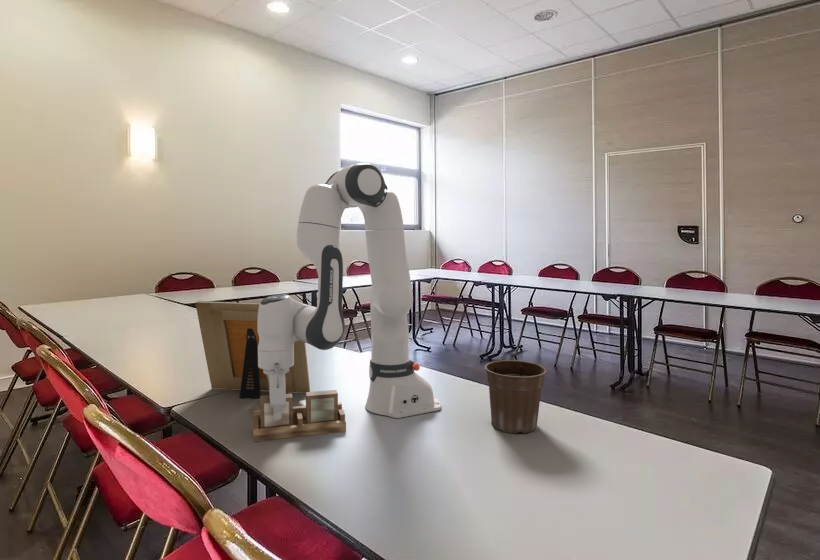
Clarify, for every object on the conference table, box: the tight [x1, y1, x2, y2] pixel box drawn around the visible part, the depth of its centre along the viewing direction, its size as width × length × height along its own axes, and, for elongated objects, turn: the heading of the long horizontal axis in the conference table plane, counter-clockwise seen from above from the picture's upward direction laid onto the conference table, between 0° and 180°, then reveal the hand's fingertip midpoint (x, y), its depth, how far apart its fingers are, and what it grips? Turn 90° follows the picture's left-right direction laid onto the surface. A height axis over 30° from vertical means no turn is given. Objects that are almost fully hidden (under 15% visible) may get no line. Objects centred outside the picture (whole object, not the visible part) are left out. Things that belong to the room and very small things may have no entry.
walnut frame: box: [259, 392, 294, 429], centre depth 124 cm, size 8×3×8 cm, turn 108°
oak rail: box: [252, 401, 347, 442], centre depth 126 cm, size 23×8×5 cm, turn 108°
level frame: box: [305, 389, 339, 424], centre depth 127 cm, size 8×3×8 cm, turn 108°
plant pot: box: [484, 359, 547, 434], centre depth 131 cm, size 16×16×16 cm
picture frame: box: [194, 300, 311, 400], centre depth 151 cm, size 33×10×30 cm, turn 84°
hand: (276, 411), depth 124 cm, fingers open, 8 cm apart
